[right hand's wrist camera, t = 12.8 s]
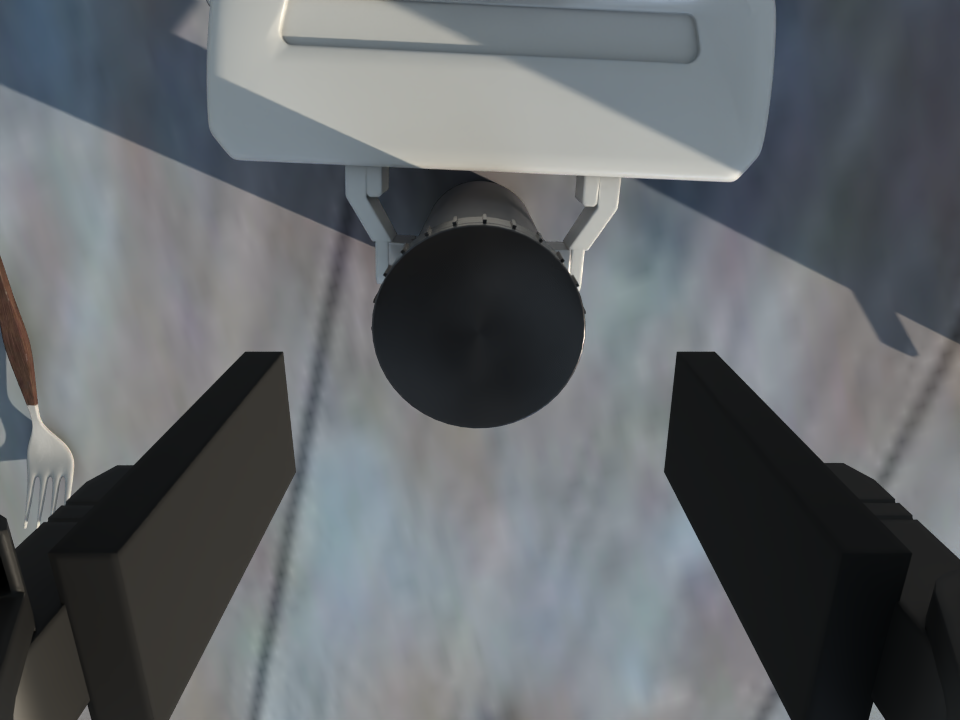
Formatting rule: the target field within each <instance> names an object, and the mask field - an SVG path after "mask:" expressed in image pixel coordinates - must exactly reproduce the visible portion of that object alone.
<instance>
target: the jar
mask: <svg viewBox="0 0 960 720" xmlns="http://www.w3.org/2000/svg"><path fill="white" fill-rule="evenodd" d="M483 214H487V217H492V218H499V219H503V220H507V221H511V219H513V220H515V222H516V224H518V225H521V226H523V227H525V228H527V229H528V230H530V231H532V232H534V233H535V234H536V233H537V232H538V231H537V229H536V227H535V225H534V223H533V221H532V219H531V217H530V215H529V213H528V211H527V209H526V207H525V205H524V204H523V203H522V201H521V200H520V199H519V198H518V197H517V196H516V195H515V194H514V193H513V192H511V191H510V190H509V189H507V188H505V187H503V186H501V185H499V184H496V183H492V182H487V181H472V182H466V183H463V184H460V185H458V186H456V187H454V188H452V189H450V190H449V191H447V192H446V193H445V194H444V195H443V196H442V197H441V198H440V199H439V200H438V201H437V202H436V204H435V205H434V207H433V209H432V211H431V213H430V214H429V216H428V218H427V220H426V222H425V224H424V226H423V228H422V230H421V232H420V234H419V235H421V234H422V233H424V232H425V230H426V228H427V227H428V226H430V227H431V228H433V227H435V226H437V225H439V224H441V223H444V222H447V221H451V220H453V218H454V216H457V217H458V219H459V218H465V217H483Z"/></svg>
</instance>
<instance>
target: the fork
mask: <svg viewBox="0 0 960 720" xmlns="http://www.w3.org/2000/svg"><path fill="white" fill-rule="evenodd" d="M0 327H1V333H2V338H3V342H4V346H5V349H6V352H7V355H8V358H9V361H10V364H11V366H12V369H13V371H14V374H15V376H16V379H17V381H18V384H19V386H20V389H21V391H22V394H23V396H24V399H25V402H26V404H27V407H28V409H29V412H30V415H31V419H32V433H31V437H30V440H29V444H28V449H27V473H28V485H27V500H26V511H25V521H24V527H23V528H26V527H27V522H28V517H29V512H30V507H31V502H32V496H33V490H34V483H35V479H36V477H39V479H40V495H39V509H38V519H37V527H36V528H38V527H39V525H40V521H41V516H42V510H43V505H44V500H45V494H46V487H47V482H48V478H49V477H52V480H53V490H52V505H51V515H52V514H53V513H54V512H55V509H56V503H57V497H58V491H59V485H60V480H61V478H62V477H64V478H65V500H64V506H65V504H66V501H67V500H68V499H69V498H70V495H71V488H72V480H73V472H74V459H73V455H72V453H71V451H70V449H69V448H68V447H67V445H66V444H65V443H64V442H63V441H62V440H61V439H60V438H58V437H57V436H56V435H55V434H54V433H52V432H51V431H50V430H49V429H48V428H47V427H46V426H45V425H44V424H43V422H42V420H41V418H40V414H39V408H38V400H37V391H36V382H35V372H34V364H33V357H32V351H31V346H30V342H29V338H28V335H27V332H26V329H25V326H24V323H23V321H22V318H21V315H20V313H19V310H18V307H17V304H16V302H15V299H14V296H13V293H12V290H11V287H10V284H9V281H8V278H7V275H6V272H5V268H4V265H3V262H2V259H1V257H0Z"/></svg>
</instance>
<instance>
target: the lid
mask: <svg viewBox="0 0 960 720" xmlns="http://www.w3.org/2000/svg"><path fill="white" fill-rule="evenodd" d="M400 252H401V253H400V254H399V256H398V257H397V259H396V260H395V261H394V263H393V264H392V266H391V265H389V266H388V267H387V269H386V271H385V272H384V274H383V276H384V277H385V279H384V280H383V282H382V284H381V286H380V289H379V291H378V293H377V295H376V296H375V298H374V301H373V303H375V305H374V310H373V317H372V327H371V329H372V335H373V343H374V348H375V352H376V356H377V358H378V361H379V364H380V366H381V368H382V370H383V372H384V374H385V376H386V378H387V379H388V381H389V382H390V383H391V385H392V386H393V388H394V389H395V390H396V391H397V392H398V393H399V394H400V395H401V397H402V398H403V399H405V400H406V401H407V402H408V403H409V404H410V405H412V406H413V407H414V408H416V409H417V410H419V411H420V412H422V413H423V414H425V415H427V416H429V417H431V418H433V419H435V420H438V421H441V422H444V423H447V424H450V425H455V426H459V427H467V428H491V427H498V426H503V425H507V424H511V423H514V422H517V421H519V420H522V419H524V418H526V417H528V416H530V415H532V414H534V413H536V412H537V411H539V410H540V409H542V408H543V407H544V406H546V405H547V404H548V403H549V402H551V401H552V400H553V399H554V398H555V397H556V396H557V395H558V394H559V393H560V392H561V390H562V389H563V388H564V387H565V386H566V384H567V383H568V381H569V380H570V378H571V376H572V375H573V373H574V371H575V369H576V367H577V365H578V362H579V359H580V356H581V353H582V350H583V345H584V340H585V315H584V314H586V311H585V309H584V307H583V304H582V300H581V296H580V293H579V291H578V288H577V287H579V284H578V282H577V280H576V278H575V277H574V275H570V273H569V271H568V269H567V267H566V266H565V264H564V261H565V260H564V258H563V256H562V255H561V253H560V252H559V251H558V252H557V253H556V251H555V250H554V249H553V248H552V247H551V246H550V245H549V244H548V243H547V242H546V241H545V240H543V238H542V236H541V234H540V233H539V232H537V233H536V234H535V233H534V232H532V231H530V230H528V229H527V228H525V227H523V226H521V225H518V224H516V222H515V220H513V219H511V221H507V220H503V219H499V218H492V217H487V214H483V217H465V218H459V219H458V217H457V216H454V218H453V220H451V221H447V222H444V223H441V224H439V225H437V226H435V227H433V228H431V227H430V226H428V227H427V228H426V230H425V232H424V233H422V234H421V235H419V236H418V237H417V238H415V239H414V240H413V241H412V242H411V243H409V244H408V243H405V244H404V246H403V248H402V249H401V251H400Z"/></svg>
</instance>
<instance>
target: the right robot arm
mask: <svg viewBox="0 0 960 720" xmlns="http://www.w3.org/2000/svg"><path fill="white" fill-rule="evenodd" d="M295 473H296V468H295V459H294V449H293V440H292V431H291V421H290V412H289V402H288V393H287V384H286V374H285V365H284V356H283V352H245V353H244V354H243V355H242V356H241V357H240V358H239V359H238V360H237V361H236V362H235V363H234V364H233V365H232V366H231V367H230V368H229V369H228V370H227V371H226V372H225V373H224V374H223V375H222V376H221V377H220V378H219V379H218V380H217V381H216V382H215V383H214V384H213V385H212V386H211V387H210V388H209V389H208V390H207V391H206V392H205V393H204V394H203V395H202V396H201V397H200V398H199V399H198V400H197V401H196V402H195V403H194V404H193V406H192V407H191V408H190V409H189V410H188V411H187V412H186V413H185V414H184V415H183V416H182V417H181V418H180V419H179V420H178V421H177V422H176V423H175V424H174V425H173V426H172V427H171V428H170V429H169V430H168V431H167V432H166V433H165V434H164V435H163V436H162V437H161V438H160V439H159V440H158V441H157V442H156V443H155V444H154V445H153V446H152V447H151V448H150V449H149V450H148V451H147V452H146V453H145V454H144V455H143V456H142V457H141V459H140V460H139V461H138V462H137V463H136V464H135V465H117V466H115V467H113V468H111V469H110V470H108V471H106V472H104V473H102V474H100V475H99V476H97V477H95V478H93V479H91V480H89V481H87V482H86V483H85V484H84V485H83V486H82V487H81V488H80V489H79V490H77V491H76V492H75V493H74V494H73V495H72V496H71V497H70V498H69V499H68V500H67V501H66V504H65V506H60V507H59V508H58V509H57V510H56V511H55V512H54V513H53V514H52V515H51V516H50V517H49V518H48V522H43V523H42V524H41V525H40V526H39V527H38V528H37V529H36V530H35V531H34V532H33V533H32V534H31V535H30V536H28V537H27V538H26V539H25V540H24V541H23V542H22V543H21V544H20V545H19V546H18V547H17V548H16V549H15V547H14V544H13V540H12V537H11V533H10V530H9V526H8V523H7V519H6V518H5V517H3V516H2V515H0V720H77V719H78V718H79V716H80V715H81V713H82V712H83V710H84V709H85V707H86V706H87V705H88V708H89V712H90V716H91V720H169V719H170V717H171V715H172V713H173V711H174V709H175V707H176V705H177V703H178V701H179V699H180V697H181V695H182V693H183V691H184V689H185V687H186V685H187V684H188V682H189V680H190V678H191V676H192V674H193V672H194V670H195V668H196V666H197V664H198V662H199V660H200V658H201V656H202V654H203V652H204V650H205V648H206V646H207V644H208V643H209V641H210V639H211V637H212V635H213V633H214V631H215V629H216V627H217V625H218V623H219V621H220V619H221V617H222V615H223V613H224V611H225V609H226V607H227V605H228V604H229V602H230V600H231V598H232V596H233V594H234V592H235V590H236V588H237V586H238V584H239V582H240V580H241V578H242V576H243V574H244V572H245V570H246V568H247V566H248V564H249V563H250V561H251V559H252V557H253V555H254V553H255V551H256V549H257V547H258V545H259V543H260V541H261V539H262V537H263V535H264V533H265V531H266V529H267V527H268V525H269V523H270V522H271V520H272V518H273V516H274V514H275V512H276V510H277V508H278V506H279V504H280V502H281V500H282V498H283V496H284V494H285V492H286V490H287V488H288V486H289V484H290V482H291V481H292V479H293V477H294V475H295ZM664 473H665V475H666V477H667V479H668V481H669V482H670V484H671V486H672V488H673V490H674V492H675V494H676V496H677V498H678V500H679V502H680V504H681V506H682V508H683V510H684V512H685V514H686V516H687V518H688V520H689V522H690V523H691V525H692V527H693V529H694V531H695V533H696V535H697V537H698V539H699V541H700V543H701V545H702V547H703V549H704V551H705V553H706V555H707V557H708V559H709V561H710V563H711V564H712V566H713V568H714V570H715V572H716V574H717V576H718V578H719V580H720V582H721V584H722V586H723V588H724V590H725V592H726V594H727V596H728V598H729V600H730V602H731V604H732V605H733V607H734V609H735V611H736V613H737V615H738V617H739V619H740V621H741V623H742V625H743V627H744V629H745V631H746V633H747V635H748V637H749V639H750V641H751V643H752V645H753V646H754V648H755V650H756V652H757V654H758V656H759V658H760V660H761V662H762V664H763V666H764V668H765V670H766V672H767V674H768V676H769V678H770V680H771V682H772V684H773V685H774V687H775V689H776V691H777V693H778V695H779V697H780V699H781V701H782V703H783V705H784V707H785V709H786V711H787V713H788V715H789V717H790V719H791V720H869V716H870V712H871V708H872V705H873V702H874V703H875V705H876V706H877V708H878V709H879V711H880V712H881V714H882V715H883V717H884V718H885V720H960V559H959V558H958V557H957V556H955V555H954V554H953V553H952V552H951V551H950V550H949V549H948V548H947V547H946V546H945V545H944V544H943V543H942V542H940V541H939V540H938V539H937V538H936V537H935V536H934V535H933V534H932V533H931V532H930V531H929V530H928V529H926V528H925V527H924V526H923V525H922V524H921V523H920V522H919V521H918V520H913V518H912V515H911V514H910V513H909V512H908V511H907V510H906V509H905V508H904V507H903V506H902V505H901V504H900V503H895V499H894V498H893V497H892V496H891V495H890V494H889V493H888V492H887V491H886V490H885V489H884V488H882V487H881V486H880V485H879V484H878V483H877V482H876V481H875V480H874V479H872V478H870V477H868V476H866V475H864V474H863V473H861V472H859V471H857V470H855V469H853V468H851V467H850V466H848V465H846V464H844V463H823V462H822V461H821V460H820V459H819V457H818V456H817V455H816V454H815V453H814V452H813V451H812V450H811V449H810V448H809V447H808V446H807V445H806V444H805V443H804V442H803V441H802V440H801V439H800V438H799V437H798V436H797V435H796V434H795V433H794V432H793V431H792V430H791V429H790V428H789V427H788V426H787V425H786V424H785V423H784V422H783V421H782V420H781V419H780V418H779V417H778V416H777V415H776V414H775V413H774V412H773V411H772V410H771V409H770V408H769V407H768V406H767V404H766V403H765V402H764V401H763V400H762V399H761V398H760V397H759V396H758V395H757V394H756V393H755V392H754V391H753V390H752V389H751V388H750V387H749V386H748V385H747V384H746V383H745V382H744V381H743V380H742V379H741V378H740V377H739V376H738V375H737V374H736V373H735V372H734V371H733V370H732V369H731V368H730V367H729V366H728V365H727V364H726V363H725V362H724V361H723V360H722V359H721V358H720V357H719V356H718V355H717V354H716V353H715V352H677V356H676V365H675V374H674V384H673V393H672V402H671V412H670V421H669V431H668V440H667V449H666V459H665V468H664Z"/></svg>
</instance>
